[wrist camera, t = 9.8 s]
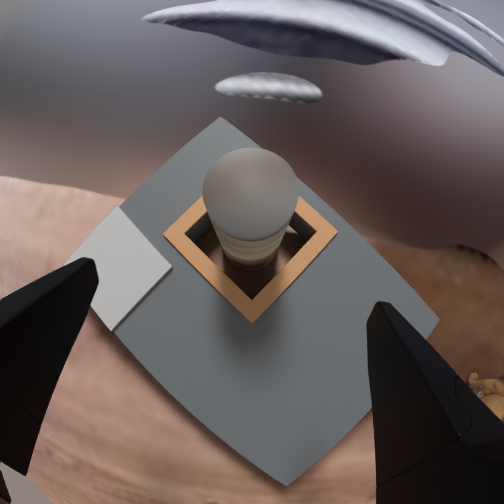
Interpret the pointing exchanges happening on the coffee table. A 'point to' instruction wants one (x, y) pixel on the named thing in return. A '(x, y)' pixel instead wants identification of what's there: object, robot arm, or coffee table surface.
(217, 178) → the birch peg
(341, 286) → the gray peg hole board
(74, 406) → the coffee table surface
